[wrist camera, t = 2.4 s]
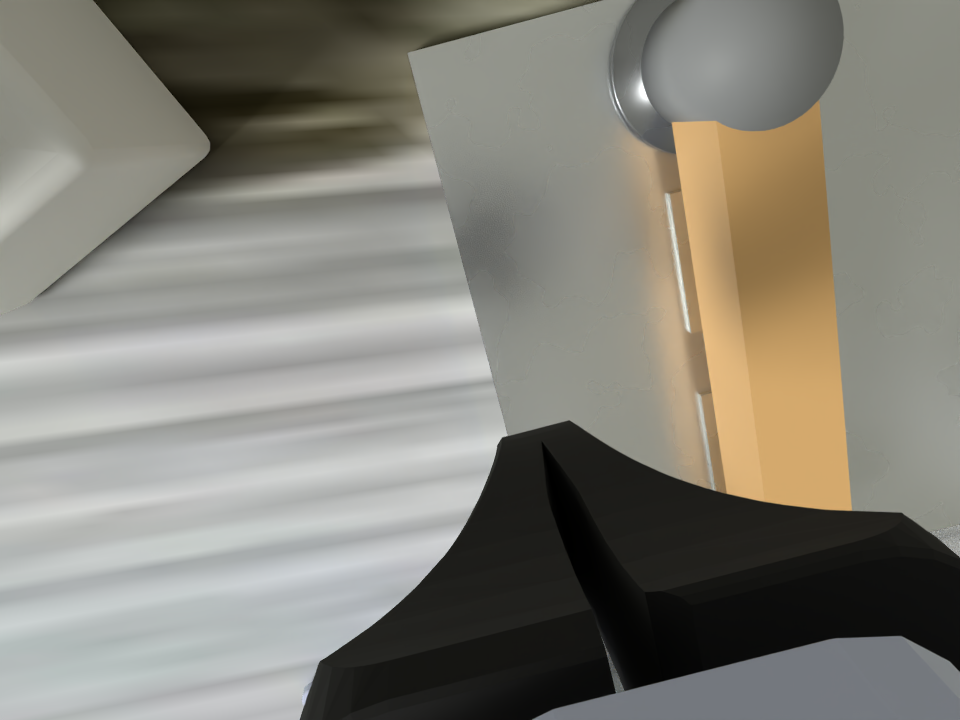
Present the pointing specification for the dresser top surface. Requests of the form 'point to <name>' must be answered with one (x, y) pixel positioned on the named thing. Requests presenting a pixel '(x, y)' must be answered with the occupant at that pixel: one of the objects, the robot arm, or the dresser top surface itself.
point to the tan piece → (760, 232)
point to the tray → (666, 249)
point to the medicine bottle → (77, 139)
